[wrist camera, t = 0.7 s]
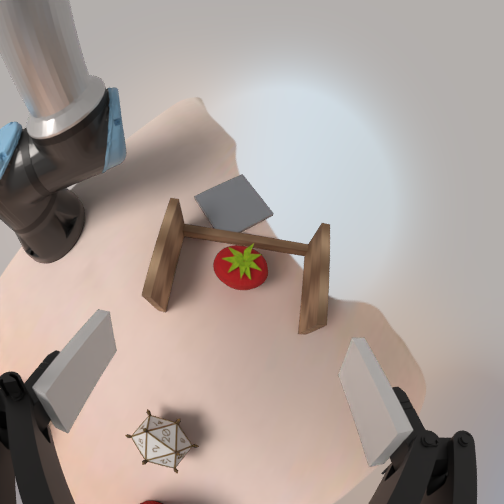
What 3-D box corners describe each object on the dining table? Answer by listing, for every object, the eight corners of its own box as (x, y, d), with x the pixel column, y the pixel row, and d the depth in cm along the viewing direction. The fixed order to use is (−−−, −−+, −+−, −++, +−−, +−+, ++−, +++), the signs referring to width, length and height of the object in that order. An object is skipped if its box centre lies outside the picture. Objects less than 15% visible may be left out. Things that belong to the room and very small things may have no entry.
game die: (162, 421, 35) (130, 391, 30) (211, 433, 33) (185, 406, 27) (143, 467, 28) (104, 446, 22) (194, 485, 25) (161, 471, 20)
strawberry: (221, 256, 43) (220, 225, 34) (267, 269, 43) (278, 241, 34) (209, 290, 41) (205, 267, 32) (257, 304, 41) (267, 285, 32)
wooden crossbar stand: (305, 334, 39) (326, 325, 31) (158, 310, 39) (141, 295, 30) (311, 250, 45) (330, 224, 37) (179, 228, 44) (170, 198, 36)
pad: (194, 198, 47) (194, 196, 47) (242, 176, 50) (242, 174, 50) (222, 241, 44) (222, 240, 44) (272, 215, 47) (273, 213, 47)
